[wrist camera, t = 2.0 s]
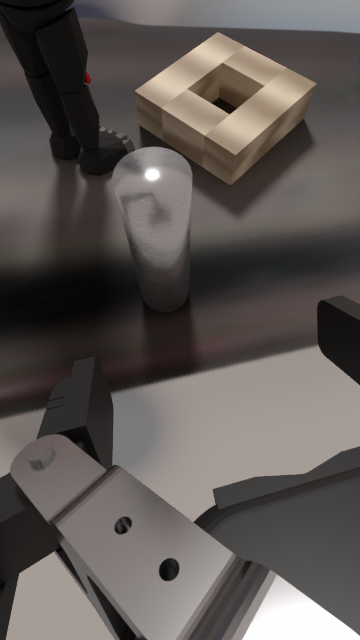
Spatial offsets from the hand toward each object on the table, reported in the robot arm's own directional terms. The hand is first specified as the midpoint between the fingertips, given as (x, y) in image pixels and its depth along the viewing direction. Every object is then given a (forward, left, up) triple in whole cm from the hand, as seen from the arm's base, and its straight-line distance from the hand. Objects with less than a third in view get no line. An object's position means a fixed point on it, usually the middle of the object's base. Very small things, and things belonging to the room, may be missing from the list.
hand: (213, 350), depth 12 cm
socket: (+27, +20, -17) cm, 37 cm away
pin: (+6, +9, -17) cm, 20 cm away
